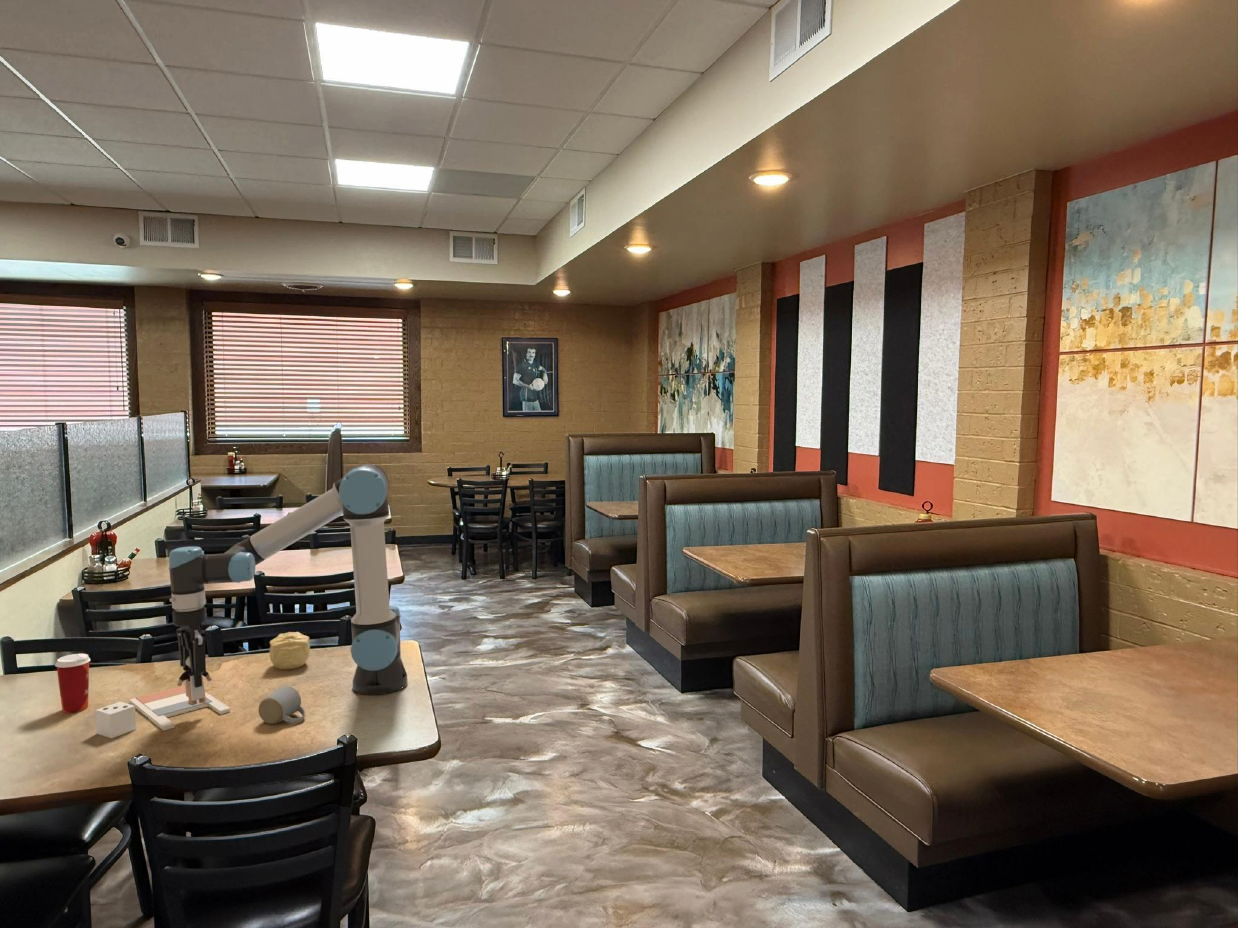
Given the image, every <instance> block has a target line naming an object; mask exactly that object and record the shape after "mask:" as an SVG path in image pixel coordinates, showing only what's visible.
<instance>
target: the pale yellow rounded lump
mask: <svg viewBox="0 0 1238 928" xmlns="http://www.w3.org/2000/svg"><path fill="white" fill-rule="evenodd" d="M309 642H310V637H309V636H307V635H306V634H305V635H304V634H303V633H300V632H299V631H296V632H294V631H292V632H291V631H288V632H285V633H279V634H278V635H277V636H276V637H275V638H273V639H271V640H270V641H269V644H270V645H269V646H270V647H269V659H270V661H271V663H272V665H273V666H274V667H275V668H277V669H279V670H293V669H298V668H301V667H302V666H303V665H305V664H306V662H307V661H308V659H309V656H310V651H311V646H310V643H309Z"/></svg>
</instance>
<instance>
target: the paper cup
mask: <svg viewBox="0 0 1238 928" xmlns="http://www.w3.org/2000/svg"><path fill="white" fill-rule="evenodd" d="M90 662H91V658H90V657H89V654H87V653H72V654H67V655H64V656H61V657H59V658H58V659H57V660H56V663H55V665H54V666H55V667H56V670H57V671H56V672H57V678H58V680H57V681H58V687H59V695H60V701H61V703H60V704H61V708H62V712H63V713H64V714H74V712H75V713H79V712H78V711H80V712H82V710H83V711H84V710H87V709H88V707H89V697H90V695H89V691H90V689H89V685H90V684H89V683H90V680H89V679H90Z"/></svg>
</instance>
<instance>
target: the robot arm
mask: <svg viewBox="0 0 1238 928" xmlns="http://www.w3.org/2000/svg"><path fill="white" fill-rule="evenodd" d="M389 490H390V480H389V476H388V475H387V473H386V471H384V470H383V468H381V467H380V466H378V465H376V464H373V463H363V464H359V465H357V466H355V467H353V468H352V469H350V470H349V471H347V472H346V474H344V476H343V477H342V478H341V479H339V480H337V481H335V482H334V483H333V485H332V488H331V489H329V490H328V491H326V492H323V493H322V494H321V495H319V496H317V497H316V498H314V499H311V501H309V502H306V503H305V504H303V505H302V506H300V507H298V508H297V509H295V510H293V511H291V512H290V513H288V514H286V515H285V516H283V517H281V518H280V519H277V520H276V521H274V522H273V523H270V525H267V526H265V527H264V528H262V529H261V530H259V531H257V532H256V533H254V534H252V535H251V536H249V537H247V538H246V539H243V540H242V541H241V542H237V543H236V544H234V545H232V546H231V547H230V548H229V549H227V550H226V551H225V552H224V553H215V554H214V553H213V554H207V553H205V554H204V552H203V549H202V547H200V546H182V547H178V548H174V549H172V550H171V551H170V552H169V555H168V561H169V567H168V570H169V580H170V593H171V597H170V598H169V602H171V608H172V609H173V610H172V611H171V612H172V613H171V614H172V624H173V625H174V626H175V627H179V628H177V629H176V635H177V642H178V654H179V664H180V667H182V669H183V671H184V672H185V671H187V670H190V669H191V674H188V675H189V677H190V683H191V698H192V700H196V699H200V698H203V697H204V691H203V683H204V676H203V675H202V673H205V672H206V671H207V667H206V666H207V665H206V664H207V661H206V640H207V637H206V635H203V632H202V629H201V627H200V625H201V624H202V623H204V622H206V621H207V608H206V606H205V605H206V603H207V602H206V588H205V585H209V584H211V585H212V584H226V583H227V584H229V583H230V584H231V583H232V584H233V583H238V584H239V583H242V582H243V583H244V582H249V581H252V580H253V579H254V578H255V573H256V567H257V565H259V564H261V563H263V562H264V561H266V560H268V559H269V558H270V557H272V556H274V555H275V554H278V553H279V552H281V551H282V550H284V549H286V548H287V547H289V546H291V545H292V544H295V543H296V542H297V541H300V540H301V539H303V538H305V537H306V536H308V535H310V534H311V533H314V532H315V531H317V530H318V529H320V528H321V527H323V526H325V525H327V524H328V523H330V522H332V521H333V520H335V519H337V518H339V517H340V516H343V518H342V519H343V520H344V521H345V522H346V523H348V524H349V526H350V528H349V529H350V540H351V554H352V555H351V556H352V569H353V582H354V583H353V585H354V597H355V609H356V610H355V611H356V613H355V614H354V615H353V616H352V618H350V622H351V639H352V640H351V641H352V643H351V646H350V654H351V658H352V660H353V662H354V663H355V664H356V665H357V666H356V668H355V672H354V675H353V678H352V690H353V691H354V692H355V693H358V694H361V695H367V694H372V695H371V696H374V695H375V694H378V695H385V694H384V693H386V694H390V693H394V692H393V691H395V692H397V691H396V690H398V691H400V690H402V689H403V688H402V687H404V686H405V685H406V684H407V685H408V674H407V670H406V669H405V665H404V663H403V660H402V657H401V652H402V651H401V611H400V608H399V607H398V606H396V605H395V606H394V605H390V597H389V596H390V595H389V591H390V590H389V578H388V565H387V564H388V563H387V551H386V549H387V548H386V537H385V535H386V534H385V533H386V532H385V521H386V520H387V519H388V517H389V516H390V510H389V509H390V508H389V505H390V504H389V495H388V494H389V493H388V492H389ZM202 635H203V636H202ZM188 657H190V665H191V668H189V667H188V666H187V665H186V660H187V658H188ZM187 682H188V679H187V680H185V681H184V685H185V689H186V696H187V697H188V689H187ZM407 685H406V686H407ZM406 686H405V687H406ZM405 687H404V688H405ZM401 688H402V689H401ZM399 689H400V690H399ZM373 694H374V695H373Z"/></svg>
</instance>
